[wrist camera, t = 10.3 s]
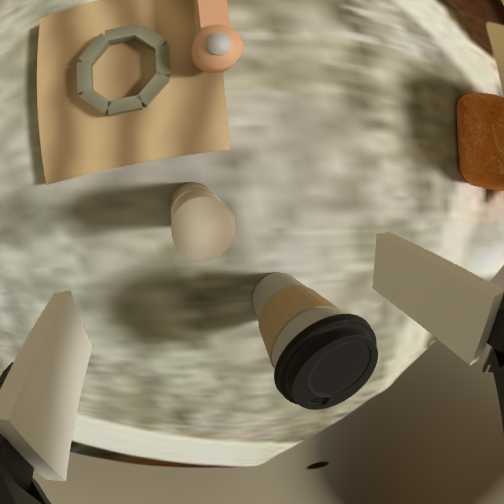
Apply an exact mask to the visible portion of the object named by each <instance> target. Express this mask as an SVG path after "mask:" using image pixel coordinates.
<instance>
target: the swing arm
mask: <svg viewBox="0 0 504 504" xmlns="http://www.w3.org/2000/svg"><path fill="white" fill-rule="evenodd" d="M195 10H196V20H197V29H198V33H197V35H196V36H195V38H194V42H193V45H192V49H191V58H192V61H193V63H194V64H195V66H196V67H197V68H199V69H200V70H202V71H204V72H207V73H221V72H224V71H226V70H228V69H229V68H230V67H231V66H232V65H233V64H234V63H235V62H236V61H237V59H238V58H239V57H240V55H241V53H242V51H243V41H242V38H241V37H240V35H239V34H238V33H237V31H235V30H234V29H232V28H231V27H230V22H229V14H228V7H227V0H195Z"/></svg>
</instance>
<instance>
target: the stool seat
mask: <svg viewBox="0 0 504 504" xmlns="http://www.w3.org/2000/svg"><path fill="white" fill-rule="evenodd" d="M197 33H198V29H197V20H196V10H195V0H98V1H94V2H90V3H87V4H83V5H80V6H76V7H73V8H70V9H67V10H64V11H61V12H58V13H55V14H52V15H49V16H47V17H44V18H42V19H40V26H39V38H38V53H37V106H38V123H39V135H40V145H41V153H42V161H43V168H44V175H45V181H46V185H48V184H52V183H55V182H59V181H63V180H66V179H70V178H74V177H78V176H82V175H86V174H90V173H94V172H99V171H103V170H107V169H112V168H116V167H121V166H126V165H131V164H136V163H141V162H147V161H152V160H158V159H163V158H169V157H176V156H182V155H189V154H196V153H203V152H210V151H218V150H227V149H230V139H229V129H228V119H227V109H226V99H225V88H224V78H223V72H221V73H207V72H204V71H202V70H200V69H199V68H197V67H196V66H195V64H194V63H193V61H192V58H191V49H192V45H193V42H194V38H195V36H196V35H197Z"/></svg>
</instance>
